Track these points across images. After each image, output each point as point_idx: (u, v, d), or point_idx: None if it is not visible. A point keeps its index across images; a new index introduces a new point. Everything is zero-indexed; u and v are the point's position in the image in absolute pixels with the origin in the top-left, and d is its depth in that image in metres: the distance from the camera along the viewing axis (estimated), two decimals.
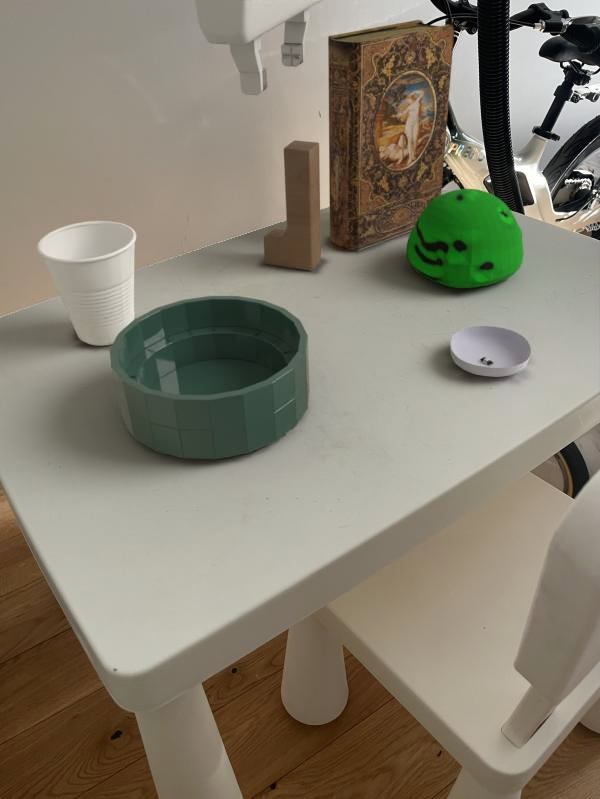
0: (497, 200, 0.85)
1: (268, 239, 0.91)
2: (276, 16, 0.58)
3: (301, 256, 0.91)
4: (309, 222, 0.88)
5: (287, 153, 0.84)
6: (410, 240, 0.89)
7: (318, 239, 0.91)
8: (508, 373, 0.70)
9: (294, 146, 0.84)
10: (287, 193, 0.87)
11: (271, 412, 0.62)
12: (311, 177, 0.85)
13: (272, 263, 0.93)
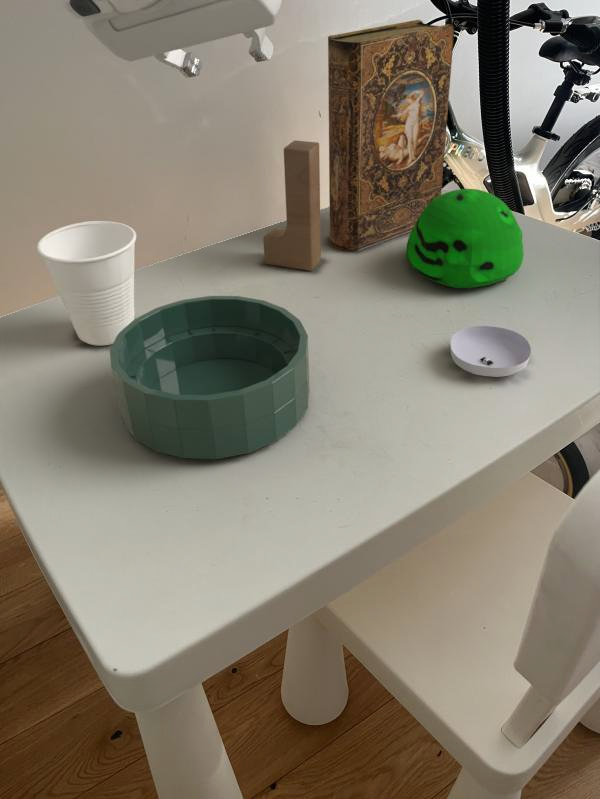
0: (497, 200, 0.85)
1: (268, 239, 0.91)
2: (163, 47, 0.72)
3: (301, 256, 0.91)
4: (309, 222, 0.88)
5: (287, 153, 0.84)
6: (410, 240, 0.89)
7: (318, 239, 0.91)
8: (508, 373, 0.70)
9: (294, 146, 0.84)
10: (287, 193, 0.87)
11: (271, 412, 0.62)
12: (311, 177, 0.85)
13: (272, 263, 0.93)
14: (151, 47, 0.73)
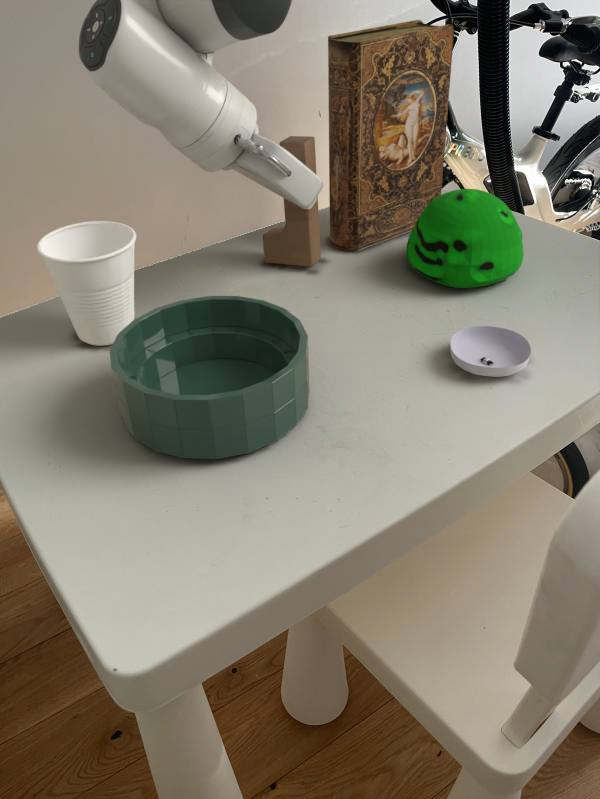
0: (498, 200, 0.85)
1: (267, 237, 0.92)
2: (244, 175, 0.88)
3: (301, 252, 0.91)
4: (307, 216, 0.88)
5: (283, 147, 0.85)
6: (410, 240, 0.89)
7: (317, 235, 0.91)
8: (508, 373, 0.70)
9: (289, 140, 0.85)
10: None
11: (271, 412, 0.62)
12: None
13: (272, 261, 0.93)
14: (236, 170, 0.88)
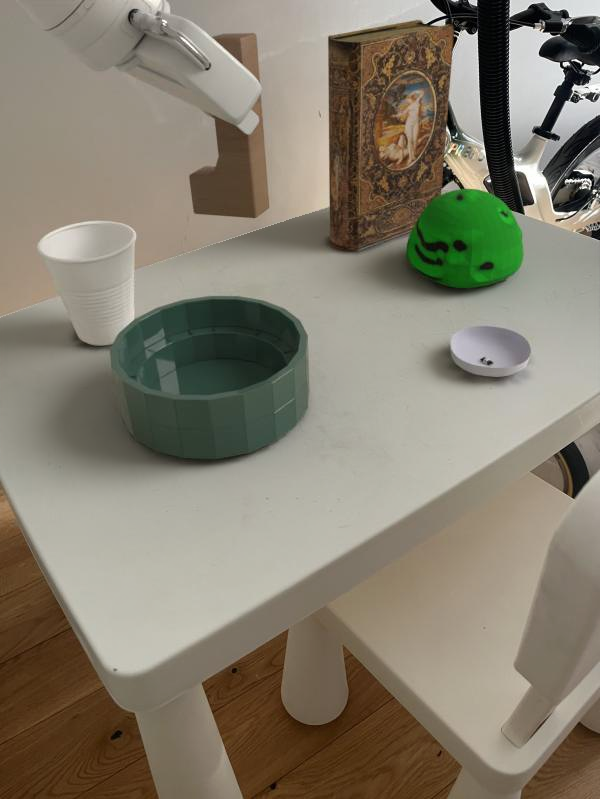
0: (498, 200, 0.85)
1: (195, 177, 0.67)
2: (159, 88, 0.63)
3: (241, 198, 0.67)
4: (248, 146, 0.64)
5: None
6: (410, 240, 0.89)
7: (263, 175, 0.67)
8: (508, 373, 0.70)
9: (220, 36, 0.61)
10: None
11: (271, 412, 0.62)
12: None
13: (203, 212, 0.69)
14: (150, 82, 0.64)
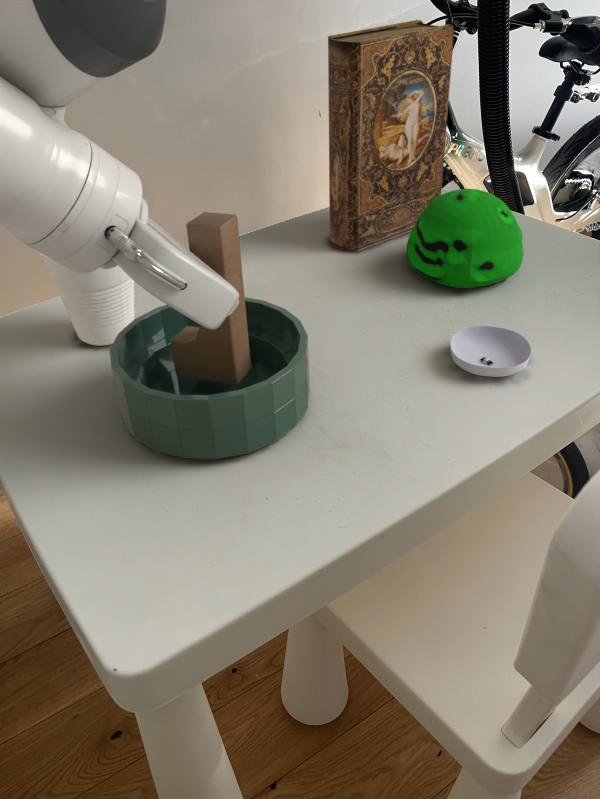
0: (498, 200, 0.85)
1: (177, 343, 0.67)
2: None
3: (222, 366, 0.67)
4: (228, 321, 0.64)
5: (191, 230, 0.60)
6: (410, 240, 0.89)
7: (244, 342, 0.67)
8: (508, 373, 0.70)
9: (201, 220, 0.61)
10: None
11: (271, 412, 0.62)
12: (227, 261, 0.61)
13: (185, 374, 0.69)
14: None
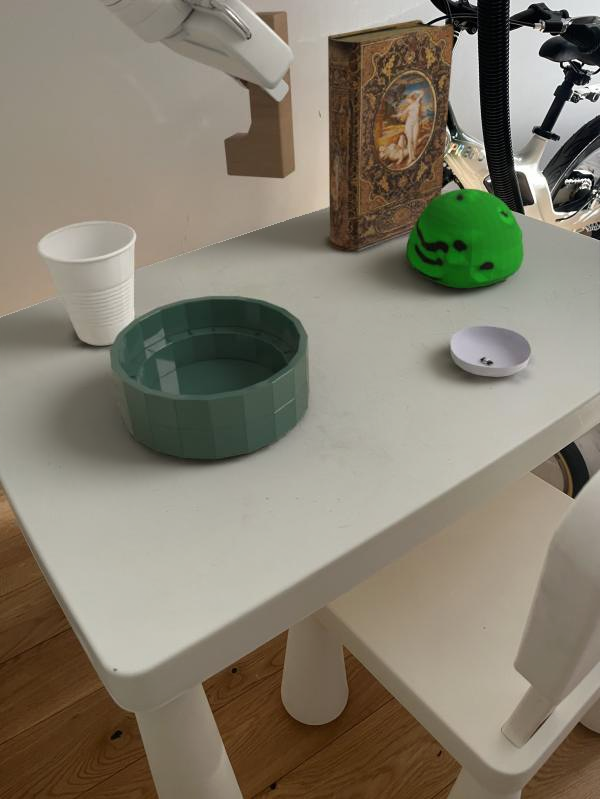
0: (498, 200, 0.85)
1: (230, 141, 0.75)
2: (200, 61, 0.71)
3: (270, 160, 0.75)
4: (278, 112, 0.72)
5: None
6: (410, 240, 0.89)
7: (290, 140, 0.75)
8: (508, 373, 0.70)
9: None
10: None
11: (271, 412, 0.62)
12: None
13: (236, 173, 0.77)
14: (191, 56, 0.72)
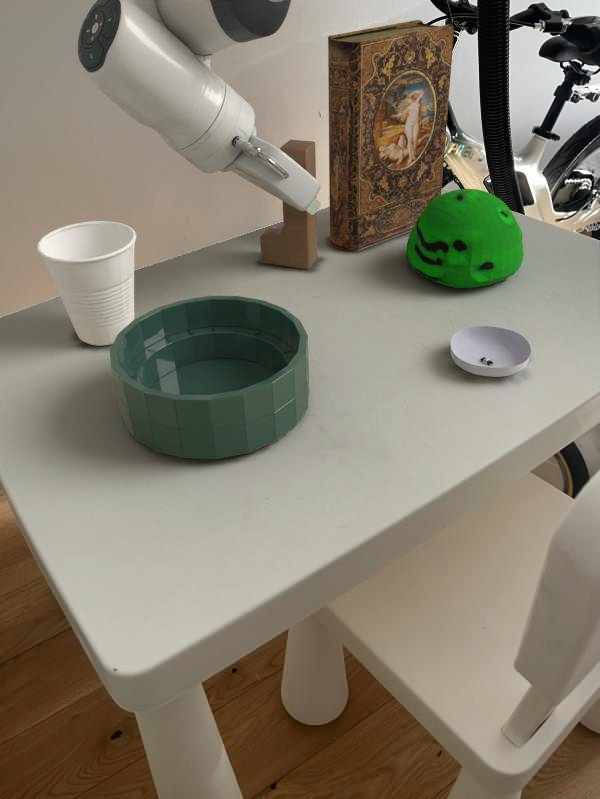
0: (498, 200, 0.85)
1: (265, 238, 0.92)
2: (241, 176, 0.88)
3: (298, 255, 0.91)
4: (306, 221, 0.88)
5: None
6: (410, 240, 0.89)
7: (314, 238, 0.92)
8: (508, 373, 0.70)
9: (290, 145, 0.85)
10: None
11: (271, 412, 0.62)
12: None
13: (269, 262, 0.93)
14: None
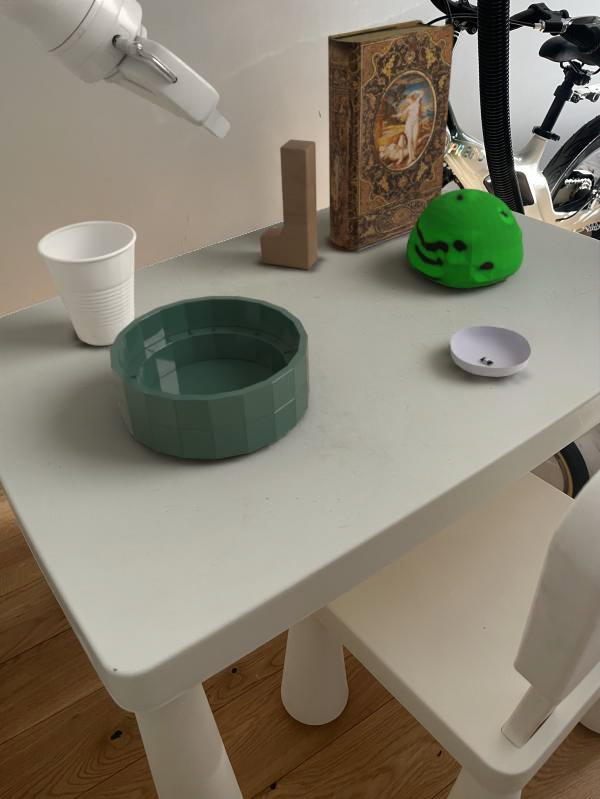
0: (498, 200, 0.85)
1: (265, 238, 0.92)
2: (141, 96, 0.77)
3: (298, 255, 0.91)
4: (306, 221, 0.88)
5: (284, 152, 0.84)
6: (410, 240, 0.89)
7: (314, 238, 0.92)
8: (508, 373, 0.70)
9: (290, 145, 0.85)
10: (284, 192, 0.87)
11: (271, 412, 0.62)
12: (308, 175, 0.85)
13: (269, 262, 0.93)
14: (133, 91, 0.78)
